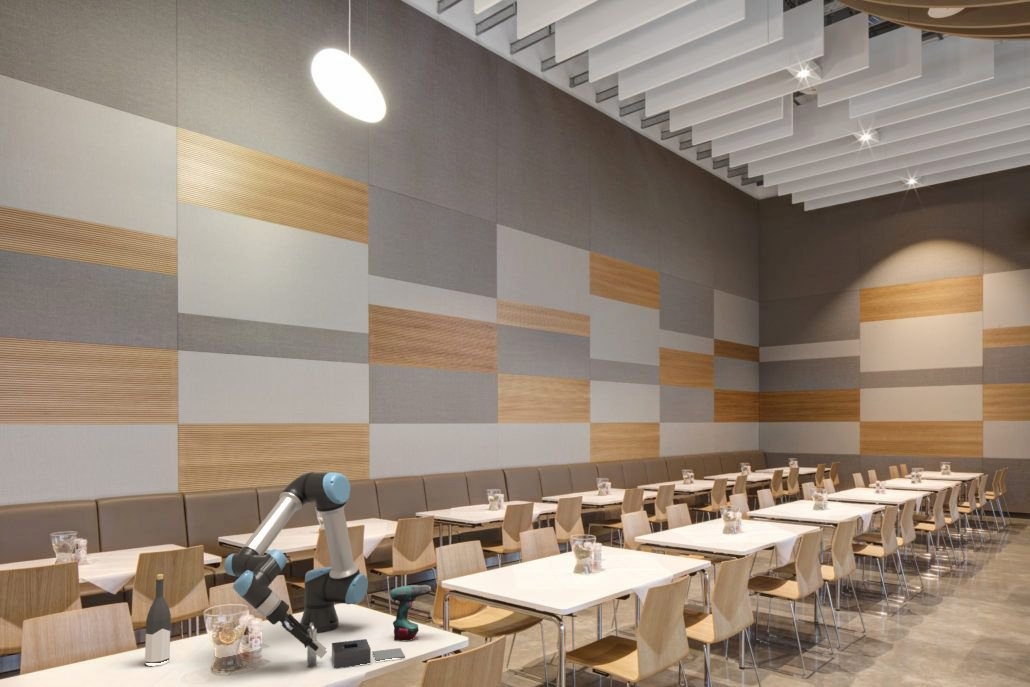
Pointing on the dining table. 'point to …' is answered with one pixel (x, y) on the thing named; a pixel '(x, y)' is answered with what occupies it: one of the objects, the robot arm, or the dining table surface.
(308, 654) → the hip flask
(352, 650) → the chuck block
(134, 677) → the dining table surface
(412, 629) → the power drill
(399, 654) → the mat
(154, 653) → the wine bottle
